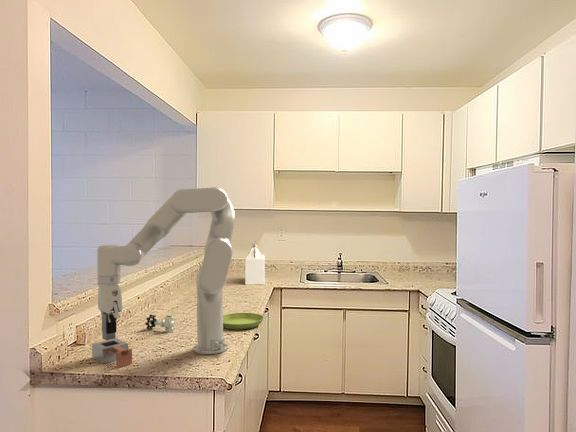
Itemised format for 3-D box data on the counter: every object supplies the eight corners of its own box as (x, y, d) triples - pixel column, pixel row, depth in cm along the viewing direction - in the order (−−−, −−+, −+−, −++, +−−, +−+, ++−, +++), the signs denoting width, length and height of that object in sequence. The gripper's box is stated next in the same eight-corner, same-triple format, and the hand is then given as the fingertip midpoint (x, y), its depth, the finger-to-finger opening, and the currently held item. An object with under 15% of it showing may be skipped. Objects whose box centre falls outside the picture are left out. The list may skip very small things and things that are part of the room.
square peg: (115, 338, 157) (114, 312, 157) (106, 340, 155) (105, 314, 155) (111, 336, 159) (111, 311, 159) (102, 338, 157) (102, 313, 157)
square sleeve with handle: (92, 357, 157) (92, 343, 157) (117, 351, 164) (116, 338, 164) (111, 369, 146) (111, 354, 146) (137, 362, 152) (137, 347, 152)
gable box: (246, 279, 323) (246, 241, 322) (265, 279, 324) (264, 240, 323) (245, 285, 301) (244, 243, 300) (264, 284, 301) (264, 243, 301)
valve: (178, 330, 192) (155, 327, 196) (177, 315, 192) (154, 312, 196) (168, 334, 186) (145, 331, 190) (168, 318, 186) (144, 316, 190)
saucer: (261, 318, 213) (261, 311, 213) (266, 330, 192) (266, 322, 192) (217, 320, 209) (217, 313, 209) (217, 332, 189) (217, 325, 189)
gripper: (130, 281, 154) (130, 334, 154) (109, 276, 165) (109, 325, 166) (108, 284, 148) (108, 339, 149) (88, 278, 160) (89, 329, 160)
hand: (109, 331), depth 157 cm, fingers closed on square peg, 3 cm apart
